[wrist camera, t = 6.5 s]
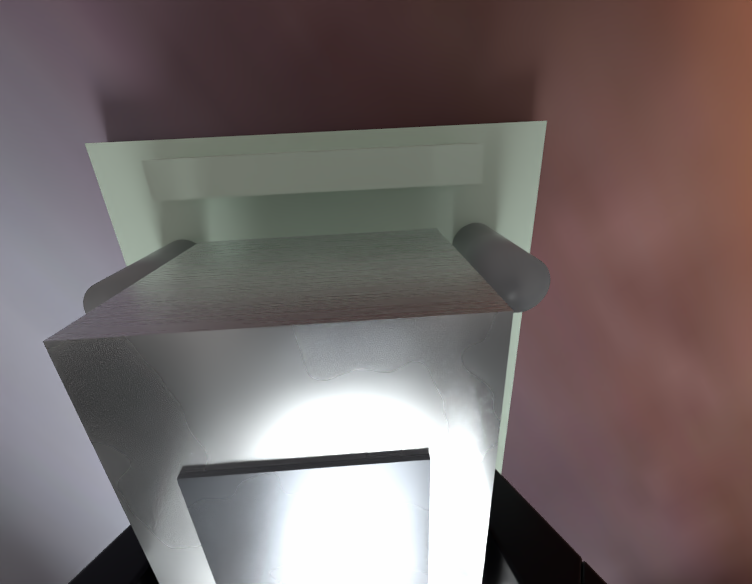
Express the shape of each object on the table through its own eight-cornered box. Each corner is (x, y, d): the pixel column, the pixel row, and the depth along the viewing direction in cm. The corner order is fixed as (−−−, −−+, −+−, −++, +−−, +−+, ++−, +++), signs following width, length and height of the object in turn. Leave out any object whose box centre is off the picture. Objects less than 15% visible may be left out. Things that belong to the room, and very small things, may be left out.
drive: (275, 547, 11) (233, 750, 8) (198, 242, 7) (34, 346, 4) (430, 534, 11) (466, 727, 8) (437, 228, 8) (517, 314, 4)
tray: (224, 512, 15) (182, 629, 11) (107, 143, 9) (-50, 144, 6) (489, 492, 15) (530, 600, 11) (532, 122, 9) (636, 111, 6)
